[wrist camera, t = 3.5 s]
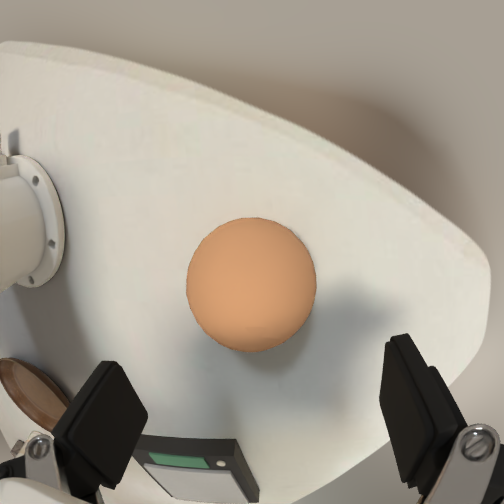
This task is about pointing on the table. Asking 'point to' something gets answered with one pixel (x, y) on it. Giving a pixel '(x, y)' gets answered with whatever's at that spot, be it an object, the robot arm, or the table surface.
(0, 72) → the table surface
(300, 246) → the egg
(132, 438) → the robot arm
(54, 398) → the saucer
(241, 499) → the scale
